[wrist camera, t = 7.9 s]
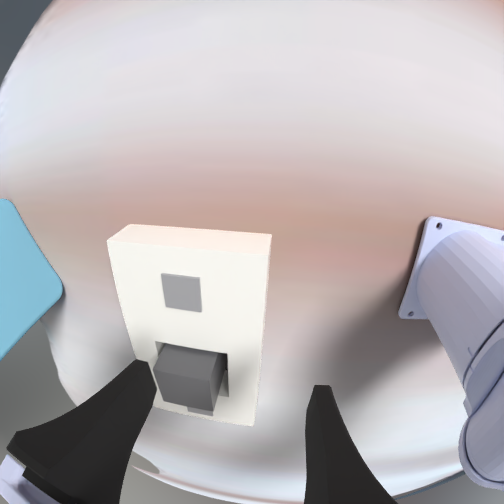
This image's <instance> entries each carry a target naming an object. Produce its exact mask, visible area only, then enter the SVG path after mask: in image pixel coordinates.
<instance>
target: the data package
mask: <svg viewBox="0 0 504 504" xmlns="http://www.w3.org/2000/svg"><path fill="white" fill-rule="evenodd" d="M62 291H63V286H62V282H61V280H60V278H59V276H58V275H57V274H56V272H55V271H54V269H53V268H52V267H51V265H50V264H49V262H48V261H47V259H46V258H45V256H44V255H43V253H42V252H41V250H40V249H39V247H38V245H37V244H36V242H35V241H34V239H33V237H32V236H31V234H30V232H29V231H28V229H27V227H26V226H25V224H24V222H23V220H22V219H21V217H20V215H19V213H18V211H17V210H16V208H15V206H14V205H13V203H12V202H10V201H9V200H7V199H0V361H1V360H2V359H3V357H4V356H5V355H6V354H7V353H8V352H9V351H10V350H11V348H12V347H13V346H14V345H15V344H16V343H17V342H18V341H19V340H20V338H21V337H23V335H24V334H25V333H26V332H27V331H28V330H29V329H30V328H31V327H32V326H33V325H34V324H35V323H36V322H37V321H38V320H39V319H40V318H41V317H42V316H43V315H44V314H45V313H46V312H47V311H48V310H49V309H50V308H51V307H52V306H53V305H54V304H55V303H56V302H57V301H58V300H59V299H60V297H61V295H62Z"/></svg>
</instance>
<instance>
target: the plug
mask: <svg viewBox="0 0 504 504" xmlns="http://www.w3.org/2000/svg"><path fill="white" fill-rule="evenodd" d="M226 364H227V353H220V352H214V351H207V350H201V349H195V348H189V347H184V346H178V345H173V344H168V343H166V344H165V346H164V348H163V350H162V352H161V354H160V355H159V357H158V359H157V361H156V363H155V365H154V367H153V372H154V375H155V378H156V381H157V384H158V387H159V390H160V393H161V395H162V398H163V401H165V402H169V403H173V404H178V405H182V406H187V407H191V408H196V409H201V410H207V411H212V412H214V408H215V405H216V401H217V397H218V394H219V390H220V386H221V383H222V379H223V375H224V371H225V368H226Z"/></svg>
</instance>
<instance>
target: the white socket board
mask: <svg viewBox="0 0 504 504" xmlns="http://www.w3.org/2000/svg"><path fill="white" fill-rule="evenodd" d="M271 239H272V234H261V233H249V232H236V231H224V230H210V229H197V228H183V227H168V226H153V225H136V224H129V225H128V226H126V227H125V228H123V229H122V230H120V231H119V232H118V233H116V234H115V235H114V236H112V237H111V238H109V239H108V240H107V245H108V251H109V256H110V261H111V266H112V271H113V276H114V280H115V285H116V289H117V293H118V297H119V301H120V305H121V309H122V313H123V317H124V320H125V324H126V327H127V331H128V334H129V337H130V341H131V344H132V347H133V350H134V353H135V356H136V359H138V360H142V361H146V362H148V364H149V367H150V370H151V372H152V375H153V378H154V381H155V384H156V386H157V392H156V395H155V399H154V402H153V405H154V407H156V408H159V409H163V410H167V411H171V412H175V413H179V414H184V415H188V416H193V417H198V418H203V419H208V420H213V421H219V422H225V423H231V424H238V425H246V426H254V421H255V415H256V408H257V401H258V391H259V381H260V371H261V360H262V349H263V338H264V327H265V316H266V304H267V292H268V279H269V266H270V253H271ZM166 343H168V344H173V345H178V346H184V347H189V348H195V349H201V350H207V351H214V352H220V353H227V354H228V370H225V371H224V375H223V379H222V383H221V386H220V390H219V394H218V397H217V401H216V405H215V408H214V412H212V411H207V410H201V409H196V408H191V407H187V406H182V405H178V404H173V403H169V402H165V401H163V398H162V395H161V393H160V390H159V387H158V384H157V381H156V378H155V375H154V372H153V367H154V365H155V363H156V361H157V359H158V357H159V355H160V354H161V352H162V350H163V348H164V346H165V344H166Z"/></svg>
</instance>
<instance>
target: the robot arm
mask: <svg viewBox="0 0 504 504" xmlns="http://www.w3.org/2000/svg"><path fill="white" fill-rule="evenodd" d="M439 222H440V225H439V227H438V228H436V225H437V223H439ZM501 237H502V238H501ZM411 311H412V312H411ZM409 312H411V313H410V314H408V313H409ZM398 314H399V317H400V318H401V319H429V321H430V322H431V324H432V326H433V328H434V330H435V331H436V333H437V335H438V337H439V339H440V341H441V343H442V345H443V346H444V348H445V350H446V352H447V354H448V356H449V358H450V360H451V362H452V365H453V367H454V369H455V371H456V373H457V375H458V377H459V380H460V382H461V384H462V386H463V388H464V391H465V393H466V398H465V400H464V402H463V404H464V407H465V409H466V412H467V415H468V419H467V420H466V422H465V424H464V425H463V428H462V430H461V433H460V438H459V446H458V450H459V458H460V462H461V465H462V467H463V470H464V471H465V473H466V474H467V476H468V477H469V478H470V479H471V480H472V481H473V482H475V483H476V484H478V485H480V486H483V487H487V488H494V489H499V490H502V491H504V231H503V230H499V229H494V228H490V227H485V226H481V225H476V224H471V223H466V222H461V221H456V220H451V219H446V218H440V217H434V216H430V217H428V218H427V220H426V222H425V226H424V230H423V234H422V238H421V242H420V246H419V250H418V253H417V257H416V260H415V264H414V267H413V270H412V273H411V277H410V280H409V283H408V286H407V289H406V292H405V295H404V298H403V300H402V303H401V306H400V309H399V311H398ZM156 392H157V386H156V384H155V381H154V378H153V375H152V372H151V370H150V367H149V364H148V362H146V361H142V360H138V359H136V360H134V361H133V362H132V363H131V364H130V365H129V366H128V367H127V368H125V369H124V370H123V371H122V372H121V373H120V374H119V375H118V376H116V377H115V378H114V379H113V380H112V381H111V382H109V383H108V384H107V385H106V386H105V387H103V388H102V389H101V390H100V391H99V392H97V393H96V394H95V395H93V396H92V397H91V398H89V399H88V400H87V401H85V402H84V403H82V404H81V405H79V406H78V407H76V408H75V409H73V410H71V411H69V412H68V413H66V414H64V415H62V416H60V417H58V418H56V419H54V420H52V421H49V422H47V423H44V424H42V425H39V426H36V427H33V428H29V429H25V430H22V431H17V432H16V433H15V435H14V437H13V438H12V440H11V441H10V443H9V445H8V446H7V450H8V451H9V452H10V453H11V454H12V455H13V456H15V457H16V458H17V459H18V460H19V461H21V462H22V463H23V464H24V465H26V466H27V467H26V469H25V468H24V467H23V466H21V465H20V464H19V463H18V462H16V461H15V460H14V459H13V458H11V457H10V456H9V455H7V456H6V457H5V459H4V461H3V462H2V464H1V466H0V494H1V495H2V496H3V497H4V498H5V499H6V500H7V502H8V503H9V504H119V500H120V494H121V489H122V484H123V480H124V476H125V472H126V468H127V464H128V461H129V458H130V455H131V452H132V449H133V446H134V444H135V442H136V439H137V437H138V435H139V433H140V431H141V429H142V427H143V425H144V423H145V421H146V418H147V416H148V414H149V412H150V410H151V408H152V405H153V402H154V399H155V395H156ZM305 439H306V468H307V479H306V491H305V500H304V504H398V503H397V502H396V501H395V500H394V499H393V498H392V497H391V496H390V495H389V494H388V493H387V491H386V490H385V489H384V488H383V487H382V485H381V484H380V483H379V482H378V480H377V479H376V478H375V477H374V475H373V474H372V472H371V471H370V469H369V468H368V467H367V465H366V463H365V462H364V460H363V459H362V457H361V455H360V454H359V452H358V450H357V448H356V446H355V445H354V443H353V441H352V439H351V437H350V435H349V433H348V431H347V428H346V426H345V424H344V422H343V419H342V417H341V415H340V412H339V409H338V407H337V404H336V401H335V398H334V395H333V392H332V389H331V387H330V386H329V385H315V386H314V389H313V392H312V395H311V399H310V402H309V405H308V408H307V412H306V427H305Z"/></svg>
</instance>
